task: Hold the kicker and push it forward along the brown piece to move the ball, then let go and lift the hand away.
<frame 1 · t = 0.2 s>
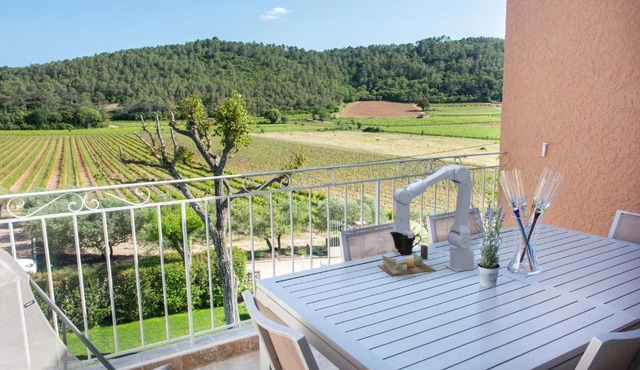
hand: (402, 251, 195), 10 cm above the table, tool pointing down, fingers open, 7 cm apart
brown piece: (406, 268, 204), on the table
coffee mug: (408, 254, 225), on the table
ball: (409, 262, 204), point 2 cm above the table, touching brown piece
kicker: (422, 254, 205), point 5 cm above the table, slide at 0.0 cm
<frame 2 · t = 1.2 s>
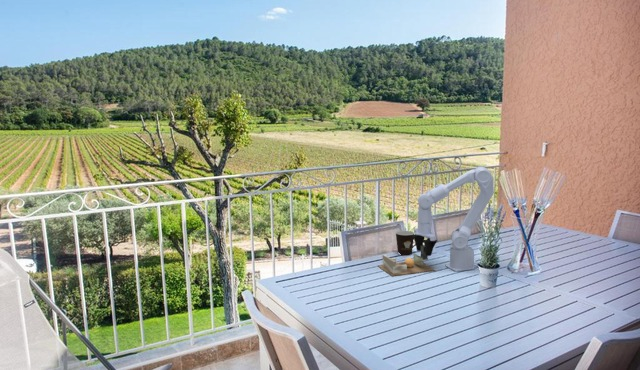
hand: (423, 253, 206), 6 cm above the table, tool pointing down, fingers open, 7 cm apart
nothing on the table moved.
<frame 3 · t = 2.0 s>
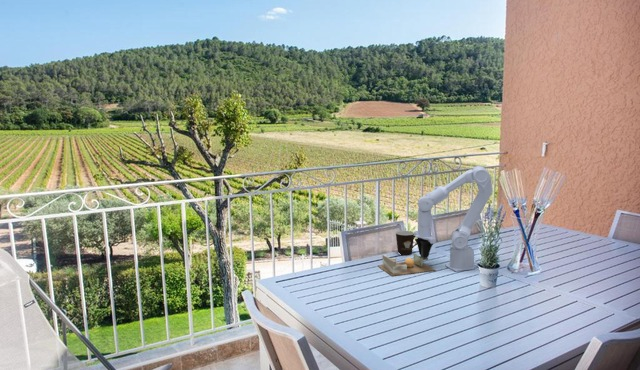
hand: (424, 255, 206), 5 cm above the table, tool pointing down, fingers closed on kicker, 2 cm apart
kicker: (422, 254, 205), point 5 cm above the table, slide at 0.0 cm, touching gripper
everything else where it was.
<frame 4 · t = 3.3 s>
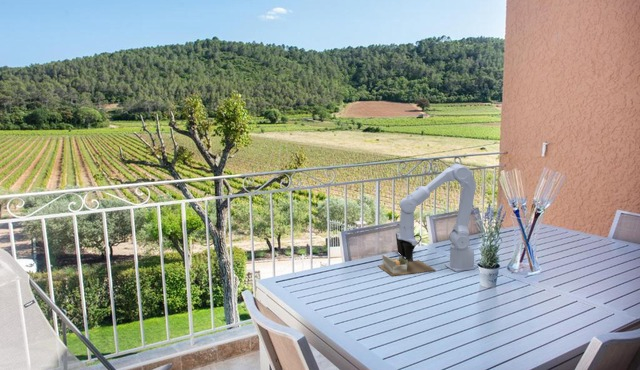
hand: (406, 257, 203), 5 cm above the table, tool pointing down, fingers closed on kicker, 2 cm apart
ball: (395, 264, 202), point 2 cm above the table, tilted 179°, touching brown piece
kicker: (407, 256, 203), point 5 cm above the table, slide at 7.1 cm, touching gripper
everything else where it was.
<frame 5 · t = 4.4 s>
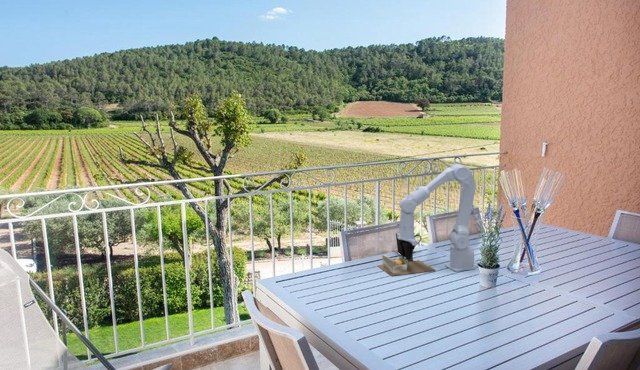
hand: (406, 257, 203), 5 cm above the table, tool pointing down, fingers closed
ball: (397, 264, 202), point 2 cm above the table, tilted 152°, touching brown piece
kicker: (407, 256, 203), point 5 cm above the table, slide at 7.1 cm
everything else where it was.
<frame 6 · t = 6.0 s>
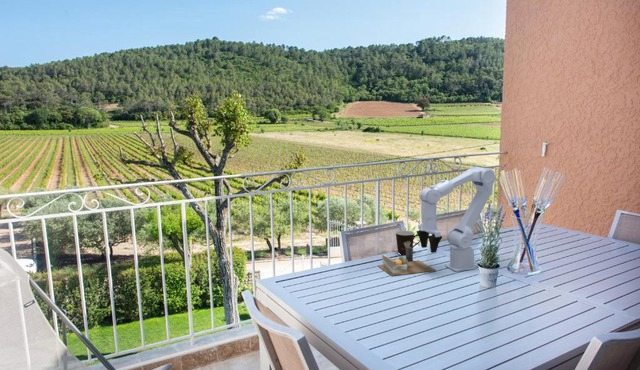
hand: (428, 249, 198), 9 cm above the table, tool pointing down, fingers open, 7 cm apart
nothing on the table moved.
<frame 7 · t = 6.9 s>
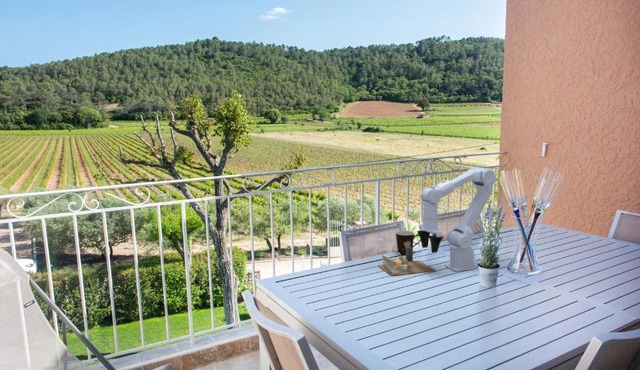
hand: (429, 249, 198), 9 cm above the table, tool pointing down, fingers open, 7 cm apart
nothing on the table moved.
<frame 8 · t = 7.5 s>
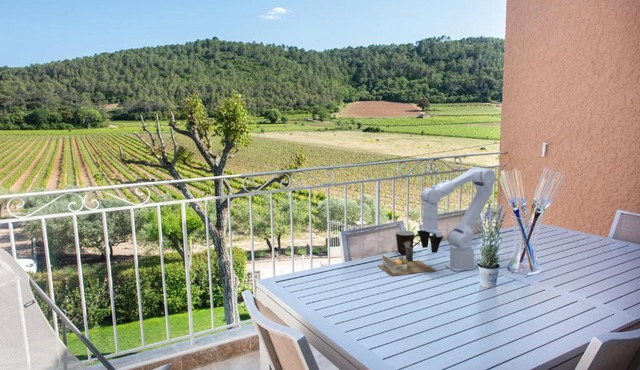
hand: (429, 249, 198), 9 cm above the table, tool pointing down, fingers open, 7 cm apart
nothing on the table moved.
at the end: ball 1.1 cm from the target spot, point 2.5 cm above the table; kicker slide at 7.1 cm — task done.
